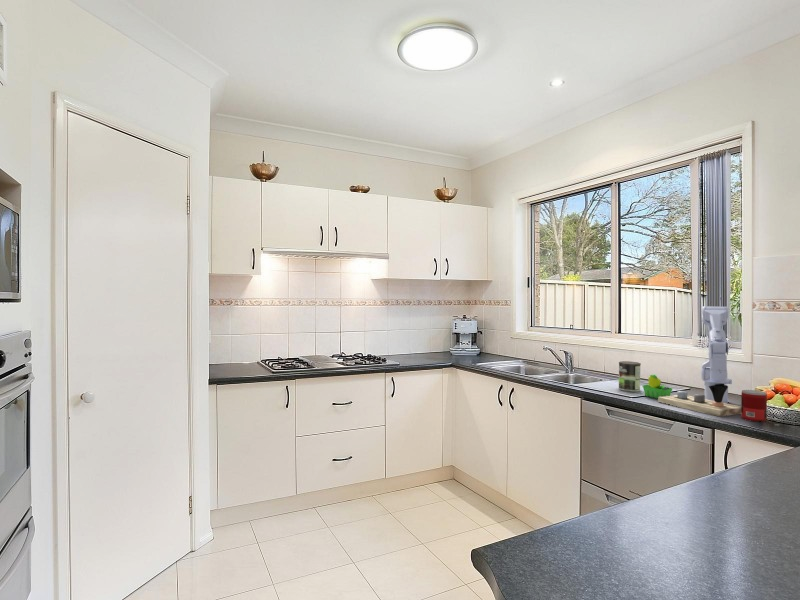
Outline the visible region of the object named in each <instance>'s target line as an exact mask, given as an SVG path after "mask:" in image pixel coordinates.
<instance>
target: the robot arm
mask: <svg viewBox="0 0 800 600" xmlns="http://www.w3.org/2000/svg"><path fill="white" fill-rule="evenodd" d="M728 319H729V308H728V306H705V305H704V306H702V307H701V320H702V321H701V322H702V324H703V325H704V326H705V325H706V327H707V330H708V360H707V361H705V362H704V363H702V364H701V369H700V370H701V372H700V374H701V375H700V378H701V381H702V382H704V395H705V399H707V400H712V401H715V402H719V403H720V402H724V403H727V404H729V403H730V402H731V401H730V400H729V385H732V383H733V379H732V378H728V368H727V366H728V365H727V364H728V362H727V361H728V360H727V359H728V358H727V357H728V354H729V342H728V340H727V337H726V331H725V330H724V329H723V328H722V326H725V325H727V323H728ZM728 402H729V403H728Z"/></svg>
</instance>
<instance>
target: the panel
mask: <svg viewBox="0 0 800 600" xmlns="http://www.w3.org/2000/svg"><path fill="white" fill-rule="evenodd" d="M659 402H662V403H661V404H663V403H666V404H665V405H668V404H670V405H669V406H672V405H673V406H672V407H676V406H677V408H681V409H686V410H689V411H693V412H694V411H695V412H699V413H704V414H708V415H711V416H716V417H727V416H733V414H734V415H740V413H741V406H740V405H737V404H731V403H724V407H721V408H720V407H715V406H712V400H707V399H705V403H702V404H701V403H696V402H694V396H692V395H688V399H686V400H682V399H678V398H677V394H674V395H670V396H663V397H658V399H657V403H659ZM726 415H727V416H726Z"/></svg>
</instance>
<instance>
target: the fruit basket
mask: <svg viewBox="0 0 800 600" xmlns="http://www.w3.org/2000/svg"><path fill="white" fill-rule="evenodd" d="M661 384H662V380H661V379H660V378H659V377H658V376H657V375H656V374H654V373H653V374H651V375H649V376H648V383H647V384H642V388H643V392H644V395H646V396H645V397H648V396H650V398H653V397H655V398H654V399H657V398H658V397H663V396H671V394H672V391H673V390H674V389H673V388H672V387H668V386H665V385H664V384H662V385H661Z"/></svg>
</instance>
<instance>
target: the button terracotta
mask: <svg viewBox="0 0 800 600" xmlns="http://www.w3.org/2000/svg"><path fill="white" fill-rule="evenodd" d="M712 406H715V407H720V408H721V407H724V402H720V403H719V402H715V401H712Z"/></svg>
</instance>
